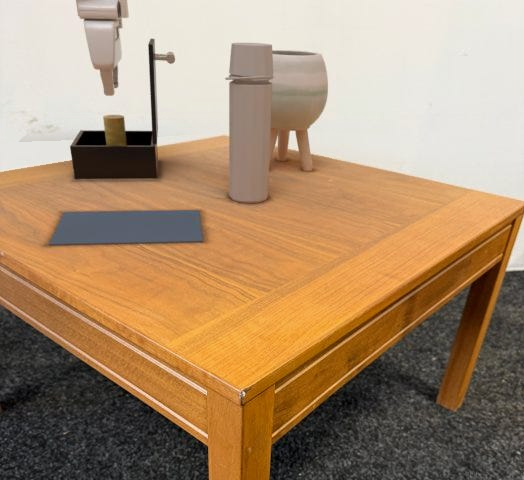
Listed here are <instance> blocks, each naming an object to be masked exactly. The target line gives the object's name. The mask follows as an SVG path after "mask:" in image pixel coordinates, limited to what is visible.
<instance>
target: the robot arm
mask: <svg viewBox="0 0 524 480" xmlns="http://www.w3.org/2000/svg"><path fill="white" fill-rule="evenodd" d="M75 5H76V12H77V16H78V18H79V19H80V20H83V28H84V32H85V33H84V34H85V38H86V43H87V48H88V52H89V57H90V61H91V64H92V67H93V69H94V70H96V71H97V70H99V74H100V75H99V76H100V79H101V83H102V87H103V88H102V89H103V94H104V96H109V97H113V96H114V95H115V93H116V91H115V89H117V88H119V84H120V83H119V62H120V61H121V60H122V57H123V50H122V41H121V33H120V29H123V28H124V27H123V19H128V18H129V17H130V16H129V15H130V14H129V5H128V0H75Z"/></svg>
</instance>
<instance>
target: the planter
mask: <svg viewBox="0 0 524 480" xmlns="http://www.w3.org/2000/svg"><path fill="white" fill-rule="evenodd" d="M272 55H273V76H274V77H273V79H272V80H269V82H270V83H272V104H271V130H270V155H269V165H270V164H271V161H272V157H273V154H274V151H275V147H276V145H277V148H276V149H277V150H276V151H277V152H276V160H277V161H278V162H286V161H287V157H288V151H289V150H288V149H289V142H290V133H291V132H295V139H296V144H297V148H298V153H299V158H300V162H301V163H300V164H301V167H302V171H304V172H312V171H313V161H312V154H311V147H310V141H309V140H310V139H309V131H308V129H310V128H311V126H312V125H313V124H315V123H316V122H317V121H318V119H319V118H320V117H321V115H322V114H323V112H324V111H325V107H326V105H327V101H328V94H329V80H328V71H327V66H326V62H325V59H324V57H323V55H322V53H319V52H315V51H308V50H293V49H292V50H291V49H272ZM276 143H277V144H276Z"/></svg>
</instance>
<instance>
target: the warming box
mask: <svg viewBox="0 0 524 480" xmlns="http://www.w3.org/2000/svg"><path fill="white" fill-rule="evenodd" d="M125 131H126V141H127V146H106V138H105V129H103V130H102V129H101V130H98V129H97V130H95V129H94V130H93V129H91V130H89V129H88V130H87V129H84V130H83V129H80V130H79V131H78V133H77V134H76V136H75V138H74V139H73V141H72V143H70V145H69V150H70V157H71V163H72V170H73V176H74V180H151V179H152V180H154V179H156V180H157V179H158V173H159V172H158V171H159V152H158V143H157V144H153V140H152V130H125Z"/></svg>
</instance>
